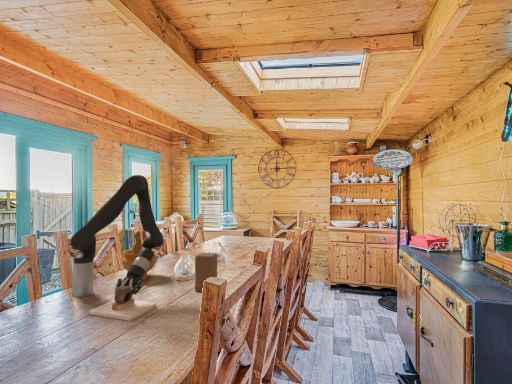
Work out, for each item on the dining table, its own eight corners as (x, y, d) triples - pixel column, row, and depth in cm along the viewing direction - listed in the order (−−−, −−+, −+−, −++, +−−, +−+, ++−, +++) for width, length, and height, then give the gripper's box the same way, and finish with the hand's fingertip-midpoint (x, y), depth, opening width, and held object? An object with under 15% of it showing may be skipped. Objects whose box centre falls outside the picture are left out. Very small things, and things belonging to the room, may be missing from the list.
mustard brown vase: (138, 272, 209) (138, 228, 210) (163, 275, 202) (164, 229, 202) (114, 280, 190) (114, 231, 190) (140, 283, 182) (141, 233, 182)
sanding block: (112, 309, 137) (112, 289, 137) (126, 302, 146) (126, 283, 146) (120, 310, 136) (120, 290, 136) (134, 303, 144) (134, 284, 144)
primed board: (89, 314, 136) (89, 310, 136) (118, 300, 153) (118, 297, 153) (129, 320, 129) (129, 317, 129) (156, 306, 146) (156, 302, 146)
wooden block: (211, 293, 165) (211, 256, 165) (194, 292, 167) (194, 255, 167) (217, 287, 175) (217, 252, 175) (201, 286, 177) (201, 252, 177)
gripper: (123, 262, 150) (103, 295, 139) (147, 265, 146) (129, 298, 134) (130, 271, 155) (112, 303, 144) (154, 273, 151) (137, 306, 139)
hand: (120, 300), depth 139 cm, fingers closed on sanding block, 4 cm apart
